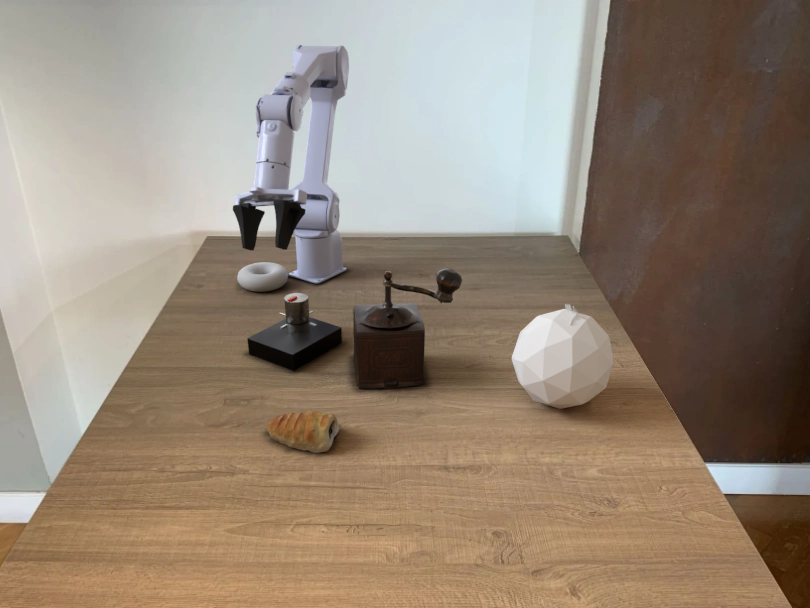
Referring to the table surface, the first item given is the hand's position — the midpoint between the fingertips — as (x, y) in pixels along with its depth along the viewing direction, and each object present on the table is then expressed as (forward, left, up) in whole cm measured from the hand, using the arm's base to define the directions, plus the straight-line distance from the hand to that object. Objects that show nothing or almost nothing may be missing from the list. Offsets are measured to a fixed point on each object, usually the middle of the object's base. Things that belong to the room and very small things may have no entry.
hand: (264, 248), depth 123 cm
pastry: (+22, +28, -15) cm, 38 cm away
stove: (+2, +8, -15) cm, 17 cm away
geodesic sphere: (-7, +51, -15) cm, 53 cm away
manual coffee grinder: (-1, +28, -15) cm, 31 cm away
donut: (-14, -15, -15) cm, 26 cm away
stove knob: (-1, +6, -12) cm, 13 cm away
